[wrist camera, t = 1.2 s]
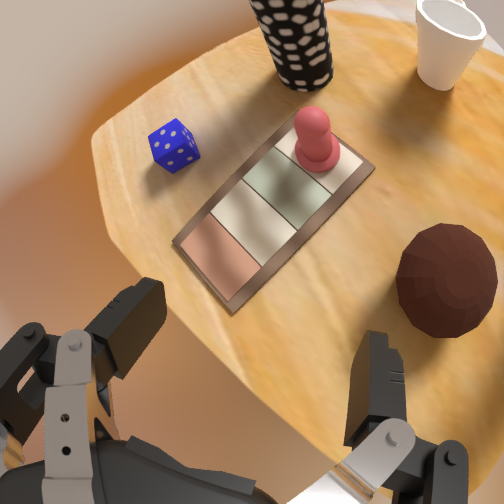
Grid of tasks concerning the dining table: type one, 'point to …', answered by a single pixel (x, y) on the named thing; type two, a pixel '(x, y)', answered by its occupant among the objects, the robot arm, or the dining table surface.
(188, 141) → the die
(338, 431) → the dining table surface
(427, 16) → the foam cup
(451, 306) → the muffin
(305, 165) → the pawn
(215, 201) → the game track
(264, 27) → the white-spotted black cylinder
